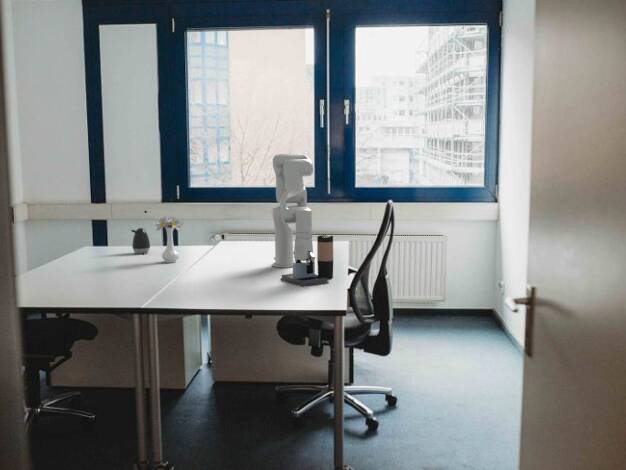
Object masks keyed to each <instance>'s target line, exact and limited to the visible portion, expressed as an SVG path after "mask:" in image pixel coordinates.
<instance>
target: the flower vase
mask: <svg viewBox="0 0 626 470" xmlns="http://www.w3.org/2000/svg"><path fill="white" fill-rule="evenodd" d="M182 225H183V222H182V221H180V220H179V218H178V217H177V216H169V217H168V218H167V217H166V216H163V217H158V222H156V223H155V227H157V228H156V232H158V231H161V230H162V229H163V228H165V230H166V236H167V237H166V239H167V241H166V248H165V250H164V251H163V252H162V254H161V258H162V259H163V260H164V262H165V263H167V264H169V263H171V264H173V263H177V260H178V259H179V258H180V253H179V252H178V250H177V249H176V248H175V246H174V237H173V236H174V230H176V231H177V232H180V231H181V228H182V227H181V226H182Z"/></svg>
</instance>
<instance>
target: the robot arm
mask: <svg viewBox="0 0 626 470" xmlns="http://www.w3.org/2000/svg"><path fill="white" fill-rule="evenodd" d="M272 167H273V171H274V174H275V199H276V202H277V203H279V206H276V207H274V208H273V210H272V217H273V224H274V225H273V226H274V253H275V254H274V257H273V260H274V261H275V262H273V263H272V264H271V265H272V267H274V268H293V264H294V263H303V262H306V263H307V274H312V273H313V265H314V262H315V260H316V256H315V254H314V247H313V246H314V245H313V215H312V214H313V213H312V210H311V209H310V207H308V206H307V205H308V203H307V202H308V197H307V196H308V193H307V189H306V187H305V185H304V184H305V183H304V179H303V177H311V176H312V175H313V173H314V164H313V162H312V160H311V158H309V156H308V155H307V154H305V153H279V154H276V155H274V156H273V157H272ZM287 204H292V205H287ZM293 204H294V205H293ZM291 224H294V225H295V238H294V232H293V229H292V228H291V227H290V225H291Z"/></svg>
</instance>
